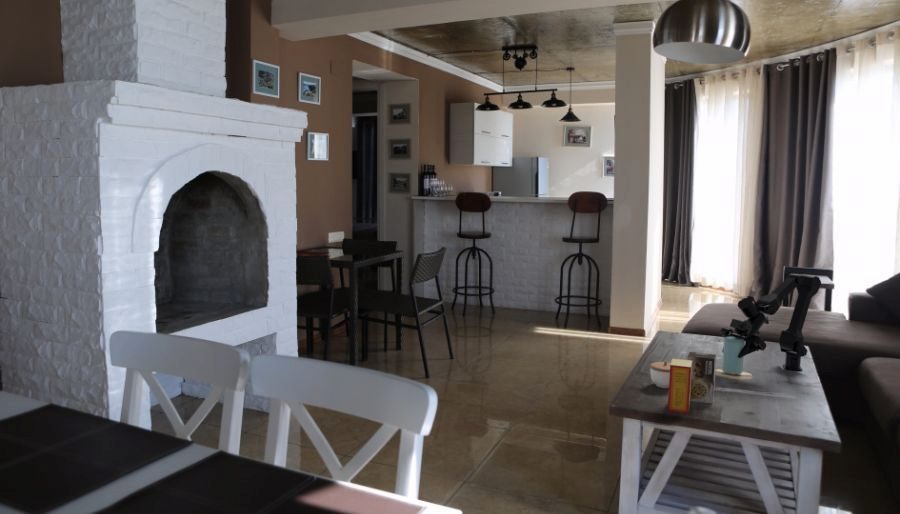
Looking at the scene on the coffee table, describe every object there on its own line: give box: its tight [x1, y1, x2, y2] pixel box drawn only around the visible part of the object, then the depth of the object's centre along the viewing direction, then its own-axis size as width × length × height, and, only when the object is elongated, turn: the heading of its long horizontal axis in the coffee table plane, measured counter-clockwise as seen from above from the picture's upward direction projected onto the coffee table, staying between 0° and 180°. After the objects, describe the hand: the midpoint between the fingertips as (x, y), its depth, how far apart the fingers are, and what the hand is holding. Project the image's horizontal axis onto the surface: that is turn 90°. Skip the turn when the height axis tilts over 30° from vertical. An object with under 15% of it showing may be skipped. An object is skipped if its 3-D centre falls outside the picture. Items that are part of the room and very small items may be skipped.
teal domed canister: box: [721, 337, 745, 374], centre depth 272 cm, size 7×7×13 cm
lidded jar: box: [650, 360, 671, 389], centre depth 259 cm, size 11×11×9 cm
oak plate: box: [715, 368, 753, 381], centre depth 273 cm, size 15×15×1 cm
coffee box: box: [687, 351, 717, 405], centre depth 243 cm, size 9×6×16 cm
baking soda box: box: [667, 357, 692, 414], centre depth 234 cm, size 10×6×16 cm
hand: (730, 355), depth 272 cm, fingers closed on teal domed canister, 7 cm apart
